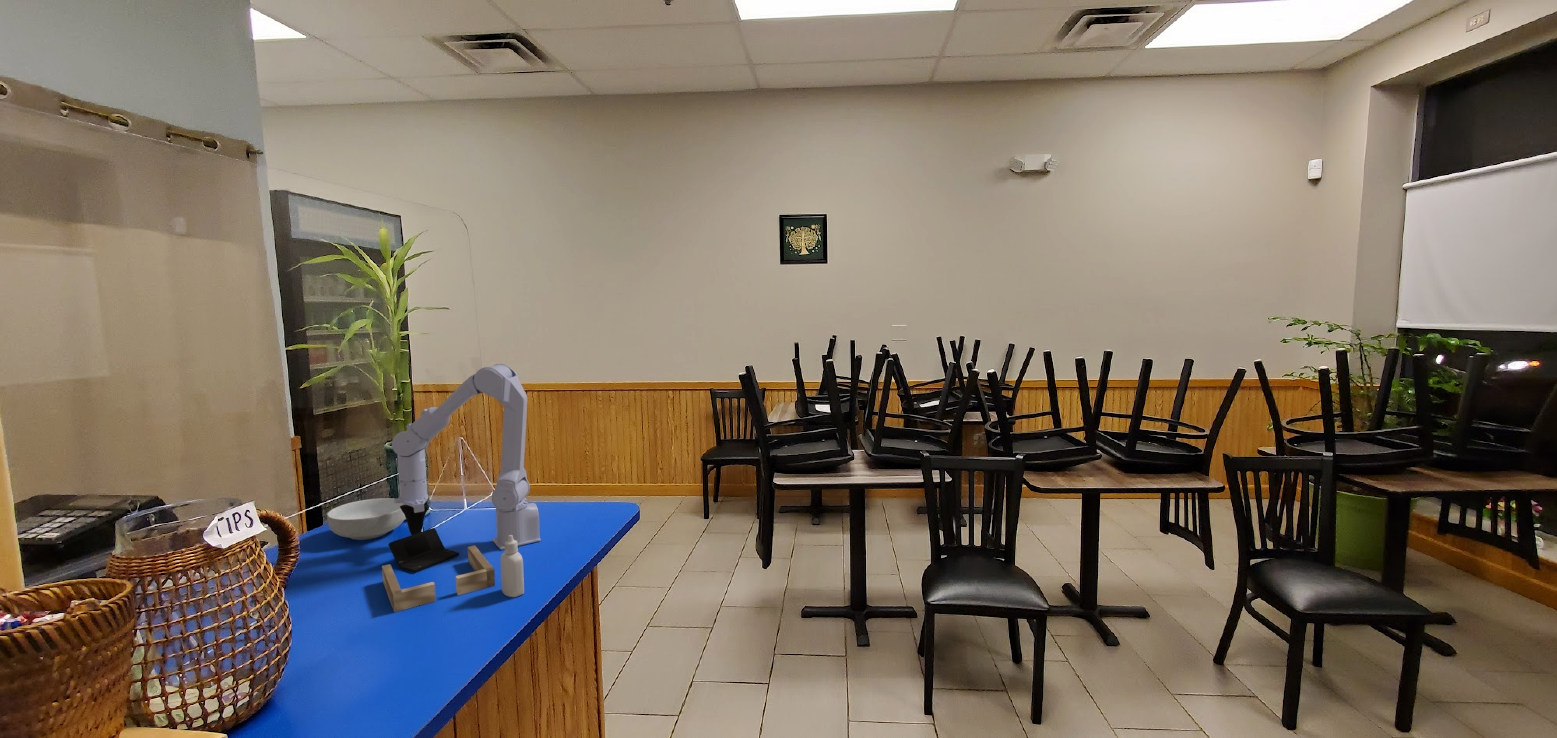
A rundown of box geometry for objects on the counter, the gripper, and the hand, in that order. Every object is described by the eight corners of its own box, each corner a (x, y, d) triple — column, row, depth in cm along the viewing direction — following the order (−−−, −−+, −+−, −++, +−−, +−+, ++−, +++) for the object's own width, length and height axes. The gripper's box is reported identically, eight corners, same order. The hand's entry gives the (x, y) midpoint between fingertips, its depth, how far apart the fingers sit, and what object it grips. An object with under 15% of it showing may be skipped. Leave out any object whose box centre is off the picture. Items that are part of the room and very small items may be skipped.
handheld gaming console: (422, 567, 132) (403, 527, 134) (401, 584, 134) (382, 544, 136) (464, 555, 143) (446, 518, 145) (444, 570, 145) (426, 534, 147)
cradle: (475, 560, 140) (474, 545, 139) (495, 585, 127) (494, 569, 127) (382, 581, 128) (381, 566, 128) (394, 612, 116) (393, 594, 115)
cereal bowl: (350, 552, 144) (348, 523, 143) (315, 539, 152) (313, 511, 151) (422, 529, 159) (420, 503, 158) (386, 518, 167) (385, 493, 166)
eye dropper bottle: (525, 584, 127) (522, 529, 126) (523, 596, 122) (521, 539, 121) (502, 588, 126) (499, 532, 125) (500, 600, 121) (497, 542, 120)
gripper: (389, 475, 150) (392, 528, 151) (397, 489, 139) (401, 546, 140) (421, 470, 154) (424, 522, 156) (432, 483, 143) (435, 539, 144)
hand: (415, 533), depth 148 cm, fingers closed
